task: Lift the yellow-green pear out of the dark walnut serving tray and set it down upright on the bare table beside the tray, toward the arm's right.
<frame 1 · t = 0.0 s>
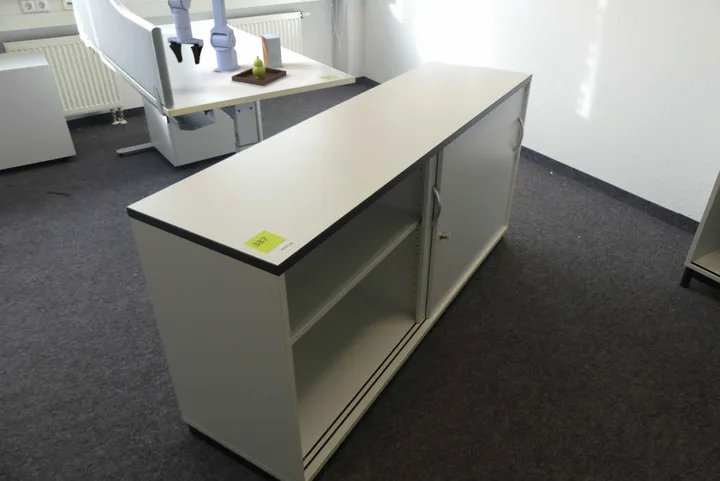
hand: (188, 63, 218), 10 cm above the table, tool pointing down, fingers open, 7 cm apart
tray: (259, 78, 234), on the table
small box: (272, 66, 251), on the table
pear: (259, 77, 234), resting on tray
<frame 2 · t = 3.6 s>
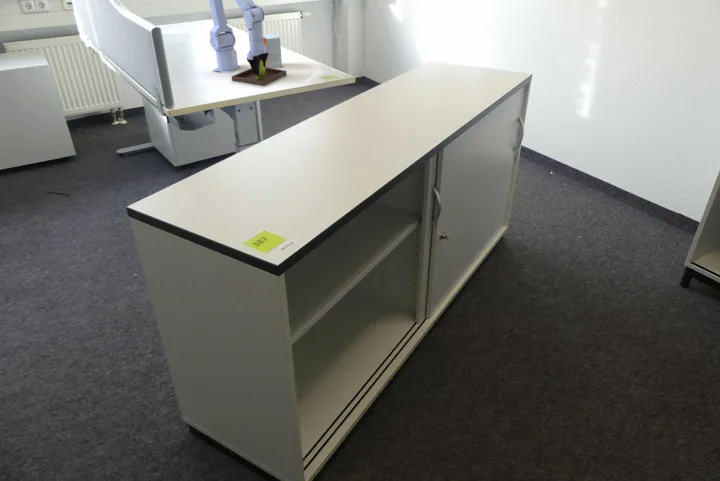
hand: (259, 72, 233), 3 cm above the table, tool pointing down, fingers closed on pear, 5 cm apart
pear: (259, 77, 234), point 1 cm above the table, touching gripper, tray
everything else where it was.
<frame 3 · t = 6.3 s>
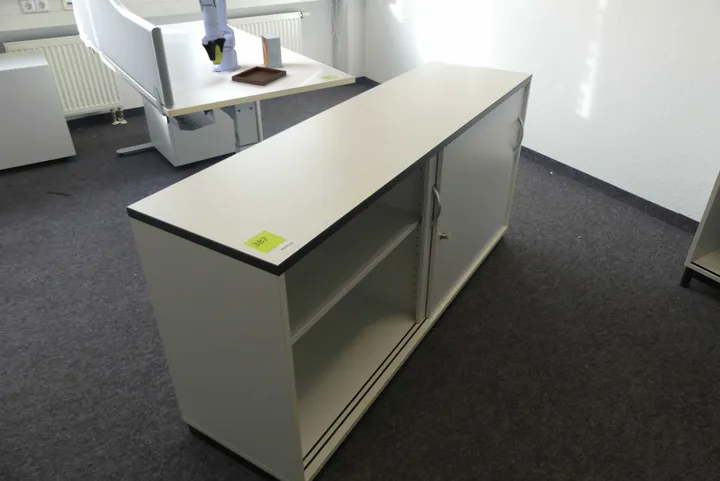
hand: (216, 58, 225), 10 cm above the table, tool pointing down, fingers closed on pear, 5 cm apart
pear: (216, 63, 227), point 7 cm above the table, touching gripper
everything else where it was.
when the fingers open (2 cm above the table, at t = 9.1 s): pear stays where it is, on the table.
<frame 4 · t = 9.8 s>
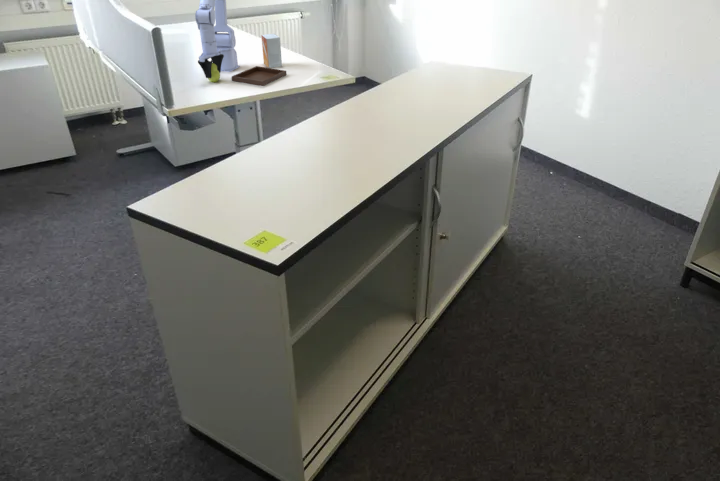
hand: (213, 75, 229), 3 cm above the table, tool pointing down, fingers open, 7 cm apart
pear: (214, 82, 230), on the table
everything else where it was.
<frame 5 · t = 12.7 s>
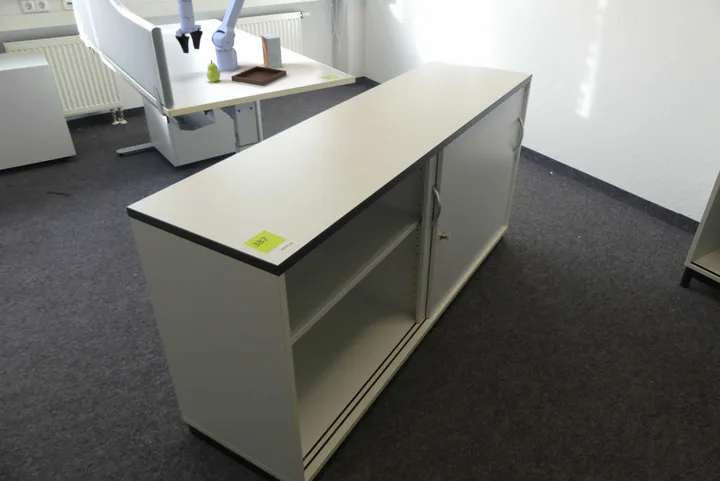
hand: (191, 51, 232), 10 cm above the table, tool pointing down, fingers open, 7 cm apart
nothing on the table moved.
at the end: pear inside the target area (0.0 cm from its centre), on the table; pear tilted 0°; the gripper is holding nothing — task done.
